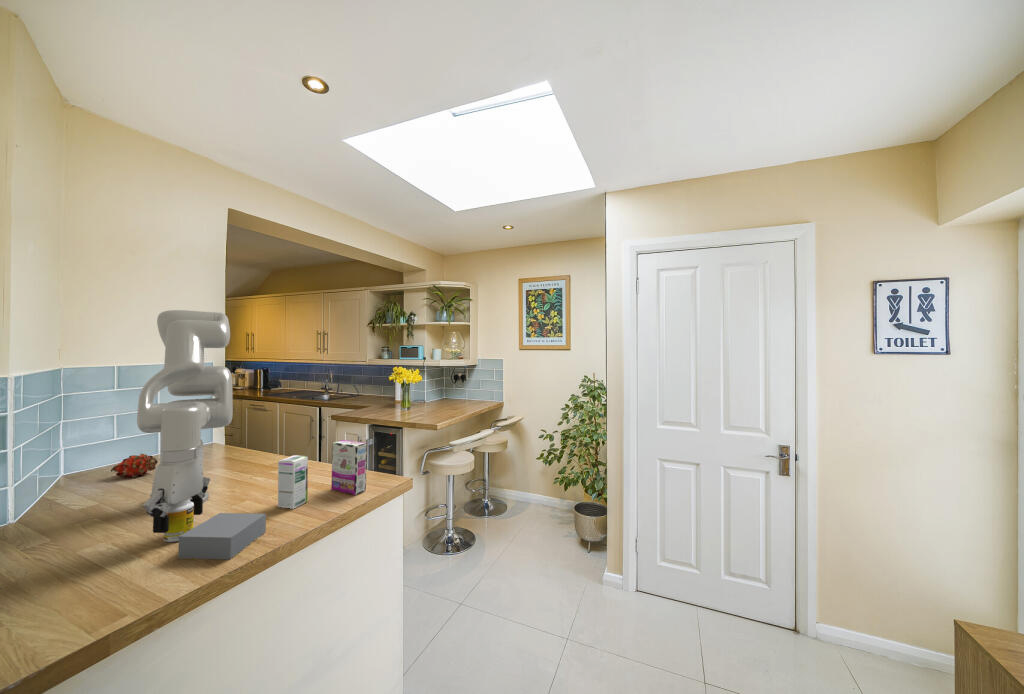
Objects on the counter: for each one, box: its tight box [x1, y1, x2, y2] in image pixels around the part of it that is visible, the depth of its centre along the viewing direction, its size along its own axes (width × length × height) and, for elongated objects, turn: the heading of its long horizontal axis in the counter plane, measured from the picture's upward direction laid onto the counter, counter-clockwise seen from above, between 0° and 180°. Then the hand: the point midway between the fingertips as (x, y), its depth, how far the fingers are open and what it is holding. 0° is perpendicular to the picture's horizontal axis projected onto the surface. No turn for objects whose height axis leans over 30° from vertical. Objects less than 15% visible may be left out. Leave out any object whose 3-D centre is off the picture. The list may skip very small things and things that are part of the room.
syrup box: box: [277, 454, 309, 510], centre depth 113 cm, size 6×6×14 cm
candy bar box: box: [330, 439, 368, 496], centre depth 125 cm, size 11×5×16 cm, turn 68°
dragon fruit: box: [110, 453, 159, 479], centre depth 134 cm, size 8×8×12 cm
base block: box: [177, 512, 267, 560], centre depth 90 cm, size 12×12×5 cm
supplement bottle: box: [163, 498, 195, 543], centre depth 93 cm, size 6×6×10 cm
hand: (179, 522), depth 93 cm, fingers open, 9 cm apart
